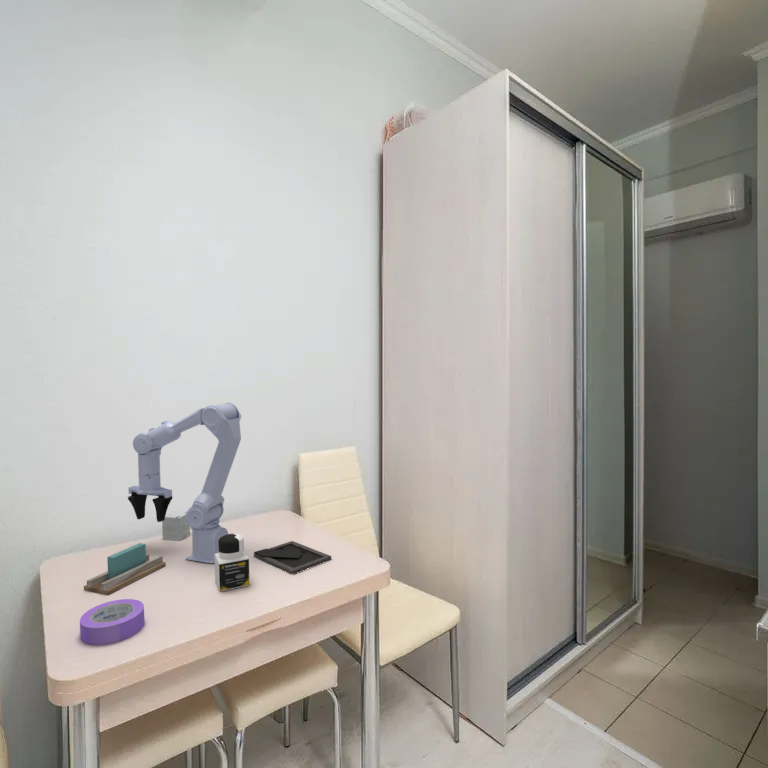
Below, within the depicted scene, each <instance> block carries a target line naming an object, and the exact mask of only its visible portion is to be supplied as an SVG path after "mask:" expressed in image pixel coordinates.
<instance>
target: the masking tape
mask: <svg viewBox="0 0 768 768" xmlns="http://www.w3.org/2000/svg"><path fill="white" fill-rule="evenodd" d="M145 623H146V621H145V605H144V603H143V601H141V600H137V599H133V598H124V599H123V598H122V599H114V600H110V601H107V602H104V603H101V604H98V605H95V606H93V607H91V608H90V609H88V610H87V611H85V612H84V613H83V614H82V615H81V617H80V619H79V632H80V633H79V634H80V640H81V642H82V643H83V644H87V645H91V646H104V645H105V646H106V645H110V644H115V643H118V642H121V641H124V640H127V639H128V638H131V637H133V636H134V635H137V633H139V632H140V631H141V630H142V629H143V628H144V626H145Z"/></svg>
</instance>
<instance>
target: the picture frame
mask: <svg viewBox="0 0 768 768" xmlns="http://www.w3.org/2000/svg"><path fill="white" fill-rule="evenodd" d="M253 558H255V559H257V560H259V561H261V562H263V563H266V564H267V565H270V566H272V567H275V568H277V569H278V568H279V569H278V570H280V569H281V571H282V572H285V571H286V572H285V573H287V572H288V573H287V574H289V573H290V574H289V575H291V574H294V575H296V574H298V573H297V572H299V573H301V572H300V571H302V570H304V571H306V570H305V569H307V568H309V569H311V568H310V567H312V566H314V567H316V566H315V565H317V564H319V565H321V564H320V563H322V564H324V563H323V562H325V563H326V561H327V562H329V560H330V561H332V556H331V555H329V554H327V553H324V552H323V551H322V552H321V551H319V550H316V549H315V548H311V547H309V546H306V545H304V544H301V543H299V542H296V541H293V540H291V541H287V542H285V543H281V544H279V545H275V546H273V547H269V548H263V549H260V550H257V551H253ZM317 566H318V565H317ZM312 568H313V567H312ZM307 570H308V569H307ZM302 572H303V571H302ZM295 573H296V574H295Z"/></svg>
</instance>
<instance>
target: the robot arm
mask: <svg viewBox="0 0 768 768" xmlns="http://www.w3.org/2000/svg"><path fill="white" fill-rule="evenodd" d="M241 417H242V415H241V412H240V411H239V408H238V407H237V406H236V404H234V403H232V402H225V403H222V404H216V405H215V404H214V405H213V404H212V405H210V404H209V405H207V406H205V407H202V408H199V409H197V410H195V411H194V412H191V413H190V414H189V415H187V416H184V417H183V418H181V419H179V420H178V421H176V422H175V421H172V420H169V421H168V420H163V421H162V422H161V423H160V424H161V425H158V426H156V427H151V428H149V429H148V432H145V433H143V432H142V433H138V434H137V435H136V436H135V437H134V438H133V440H132V447H133V449H134V450H135V452H136V453H137V462H138V464H137V466H138V485H133V486H129V487H128V494H129V496H127V500H128V501H129V503H130V504H131V506H132V508H133V510H134V513H135V516H136V519H137V520H141V519H144V518H145V516H146V505H147V497H148V496H153V497H155V498H153V499H152V502H153V505H154V508H155V514H156V522H157V523H162V521H164V520H165V516H166V515H167V511H168V508H169V506H170V503H171V501H172V499H173V489H168V488H166V487H163V486H162V485H161V455H162V449H163V447H164V446H167V445H168V444H171V443H173V442H175V441H177V440H179V439H180V438H181V436H182V433H184V432H186V431H187V430H188V431H189V430H190V429H192V428H194V427H197V426H198V425H199V426H204V427H206V428H207V430H209V432H210V433H211V434H212V435H213V436H214V437H215V438H216V439H217V440H218V443H217V446H216V450H215V452H214V455H213V458H212V461H211V464H210V467H209V469H208V473H207V476H206V478H205V480H204V484H203V487H202V490H201V492H200V494H198V495H197V497H196V498H195V499H194V500H193V503H192V505H191V506H190V508H188V510H187V511H186V512H187V513H186V520H187V523H188V524H189V526H190V530H191V536H192V537H191V539H192V540H191V541H192V543H191V544H192V545H191V546H192V554H191V555H187V556H186V557H185V560H187V561H188V560H189V561H195V562H200V563H205V564H215V554H216V553H219V546H218V540H219V539H220V537H222V536H224V535H227V534H229V532H228V530H227V528H225V527H224V526H223V527H222V526H221V525H220V521H221V520H220V519H221V517H222V516H223V514H224V502H225V497H224V496H223V495H222V494H223V492H224V490H225V486H226V483H227V480H228V478H229V475H230V472H231V469H232V466H233V463H234V460H235V457H236V455H237V451H238V449H239V446H240V443H241V438H242V437H241V436H242V435H241V426H240V425H241V424H240V422H241V419H242V418H241Z"/></svg>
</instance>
